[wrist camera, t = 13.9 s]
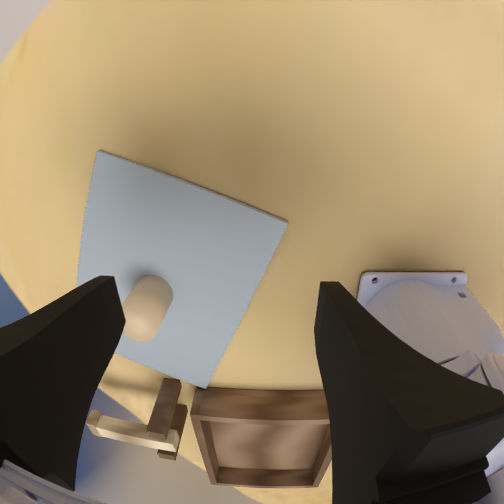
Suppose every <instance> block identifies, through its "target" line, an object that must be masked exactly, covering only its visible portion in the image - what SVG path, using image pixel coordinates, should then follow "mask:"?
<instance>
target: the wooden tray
mask: <svg viewBox="0 0 504 504" xmlns="http://www.w3.org/2000/svg"><path fill="white" fill-rule="evenodd" d="M180 390H181V383H180V380H173V379H165V378H164V380H163V383H162V386H161V389H160V391H159V394H158V397H157V400H156V403H155V406H154V409H153V412H152V415H151V417H150V420H149V423H148V426H147V429H146V432H147V434H148V436H149V437H152V438H157V439H163V440H166V439H167V436H168V432H169V429H173V430H177V433H178V435H179V438H180V439H179V443H178V447H177V451H176V452H173V451H167V450H161V449H158V452H157V454H158V455H159V457H160V458H165V459H171V460H176V456H177V452H178V448H179V444H180V440H181V436H182V432H183V428H184V424H185V420H186V416H187V412H188V410H187V406H186V405H178V404H177V401H178V397H179V394H180ZM190 416H191V420H192V424H193V427H194V431H195V434H196V438H197V441H198V444H199V448H200V451H201V454H202V458H203V461H204V464H205V467H206V470H207V473H208V476H209V479H210V482H211V484H214V485H224V486H236V487H252V488H310V487H318V486H319V484H320V482H321V480H322V478H323V476H324V474H325V472H326V470H327V468H328V466H329V464H330V461H331V459H332V450H331V433H330V421H329V413H328V407H327V402H326V397H325V392H324V390H311V391H276V390H246V389H228V388H215V387H206V389H205V388H202V387H199V386H197V388H196V392H195V396H194V400H193V404H192V408H191V412H190Z"/></svg>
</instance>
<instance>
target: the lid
mask: <svg viewBox="0 0 504 504" xmlns="http://www.w3.org/2000/svg"><path fill="white" fill-rule="evenodd" d="M287 226H288V221H285V220H283V219H281V218H278V217H276V216H273V215H271V214H268V213H266V212H264V211H261V210H259V209H256V208H254V207H251V206H249V205H246V204H244V203H241V202H239V201H236V200H234V199H231V198H229V197H226V196H224V195H221V194H218V193H216V192H213V191H211V190H208V189H206V188H203V187H200V186H198V185H195V184H193V183H190V182H187V181H185V180H182V179H179V178H177V177H174V176H171V175H169V174H166V173H163V172H160V171H158V170H155V169H152V168H149V167H147V166H144V165H141V164H138V163H135V162H133V161H130V160H127V159H124V158H121V157H118V156H116V155H113V154H110V153H107V152H104V151H101V150H99V151H97V155H96V159H95V164H94V168H93V173H92V178H91V183H90V188H89V193H88V199H87V204H86V210H85V217H84V223H83V231H82V238H81V246H80V255H79V266H78V277H77V287H79V286H80V285H82V284H84V283H86V282H87V281H89V280H91V279H93V278H95V277H98V276H100V275H103V276H114V277H115V281H116V285H117V289H118V293H119V297H120V301H121V305H122V308H123V312H124V316H125V319H126V323H125V326H124V329H123V332H122V335H121V338H120V341H119V344H118V346H117V348H116V350H115V352H114V353H116V354H118V355H120V356H123V357H125V358H127V359H129V360H132V361H134V362H136V363H139V364H141V365H144V366H146V367H148V368H151V369H153V370H156V371H158V372H161V373H163V374H166V375H169V376H171V377H174V378H176V379H179V380H182V381H185V382H187V383H190V384H193V385H196V386H199V387H202V388H205V389H206V387H207V385H208V383H209V382H210V380H211V378H212V376H213V374H214V372H215V370H216V368H217V366H218V364H219V362H220V360H221V358H222V356H223V354H224V352H225V350H226V348H227V347H228V345H229V343H230V341H231V339H232V337H233V335H234V333H235V331H236V329H237V327H238V325H239V323H240V321H241V319H242V317H243V315H244V313H245V311H246V309H247V307H248V305H249V303H250V301H251V299H252V297H253V295H254V293H255V291H256V289H257V287H258V285H259V283H260V281H261V279H262V277H263V275H264V273H265V271H266V269H267V267H268V265H269V263H270V261H271V259H272V256H273V254H274V252H275V250H276V248H277V246H278V244H279V242H280V240H281V238H282V236H283V234H284V232H285V230H286V228H287Z"/></svg>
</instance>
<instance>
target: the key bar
mask: <svg viewBox="0 0 504 504" xmlns="http://www.w3.org/2000/svg"><path fill="white" fill-rule="evenodd" d="M86 424H87V426H88V427H89V428H90V430H91V431H92V433H93V434H94V435H96V436H100V437H103V436H104V437H108V438H112V439H115V440H119V441H123V442H127V443H132V444H136V445H141V446H146V447H150V448H156V449H161V450H167V451H173V452H176V451H177V447H178V443H179V439H180V438H179V435H178V433H177V430H173V429H169V432H168V436H167V439H166V440H163V439H157V438H152V437H149V436H148V434H147V432H146V429H147V426H148V425H144V424H139V423H134V422H129V421H125V420H120V419H116V418H112V417H107V416H103V415H102V413H101V412H100V411H96V410H92V411H91V413H90V415H89V417H88V419H87V421H86Z"/></svg>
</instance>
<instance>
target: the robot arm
mask: <svg viewBox="0 0 504 504" xmlns="http://www.w3.org/2000/svg"><path fill="white" fill-rule="evenodd" d="M375 277H376V278H377V279H376V280H375V281H372V279H373V278H375ZM452 278H454V279H453V280H452ZM467 280H468V276H467V274H466V273H464V272H366V273H364V274H363V275H362V277H361V280H360V285H359V291H358V296H357V300H356V299H355V298H354V297H353V296H352V295H351V294H350V293H349V292H348V291H347V290H346V289H345V288H344V287H343V286H342V285H341V284H340V283H339V282H320V289H319V297H318V305H317V312H316V319H315V326H314V334H315V346H316V355H317V360H318V365H319V369H320V374H321V378H322V383H323V388H324V392H325V397H326V402H327V407H328V413H329V421H330V433H331V450H332V487H333V493H332V504H504V339H503V336H502V333H501V331H500V329H499V327H498V326H497V324H496V323H495V322H494V320H493V319H492V318H491V317H490V315H489V314H488V313H487V311H486V310H485V309H484V308H483V306H482V305H481V304H480V303H479V302H478V300H477V299H476V298H475V297H474V296H473V294H472V293H471V292H470V291H469V290H468V288H467V287H466V283H467ZM125 323H126V319H125V316H124V312H123V308H122V305H121V301H120V297H119V293H118V289H117V285H116V281H115V277H114V276H103V275H100V276H98V277H95V278H93V279H91V280H89V281H87V282H86V283H84V284H82V285H80V286H79V287H77V288H75V289H73V290H72V291H70V292H68V293H67V294H65V295H63V296H62V297H60V298H58V299H57V300H55V301H53V302H52V303H50V304H48V305H46V306H44V307H43V308H41V309H39V310H37V311H36V312H34V313H32V314H30V315H28V316H26V317H24V318H22V319H20V320H18V321H16V322H14V323H12V324H9V325H7V326H4V327H2V328H0V504H40V503H38V501H37V499H38V500H40V501H42V502H44V503H46V504H107V503H104V502H100V501H98V500H95V499H91V498H89V497H86V496H83V495H81V494H78V493H75V492H74V491H75V478H76V467H77V459H78V454H79V448H80V442H81V438H82V433H83V429H84V425H85V421H86V418H87V414H88V411H89V408H90V405H91V401H92V398H93V396H94V393H95V391H96V389H97V387H98V385H99V383H100V380H101V378H102V376H103V374H104V372H105V370H106V368H107V366H108V364H109V362H110V360H111V358H112V356H113V354H114V352H115V350H116V348H117V346H118V344H119V341H120V338H121V335H122V332H123V329H124V326H125Z"/></svg>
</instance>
